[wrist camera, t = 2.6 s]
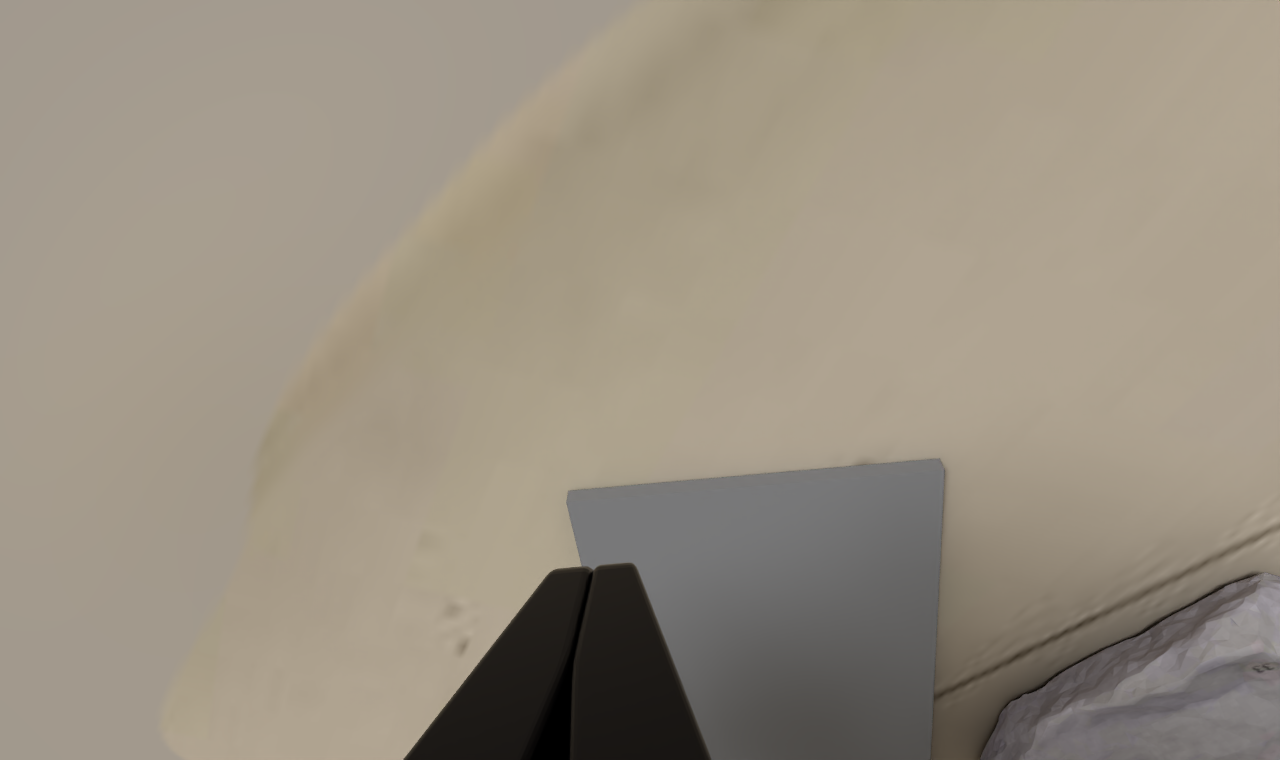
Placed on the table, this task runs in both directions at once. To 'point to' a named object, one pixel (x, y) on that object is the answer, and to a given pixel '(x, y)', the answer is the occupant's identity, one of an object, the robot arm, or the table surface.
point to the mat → (789, 602)
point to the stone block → (1164, 690)
